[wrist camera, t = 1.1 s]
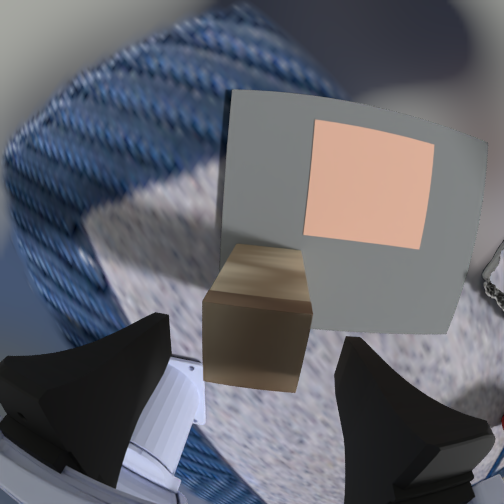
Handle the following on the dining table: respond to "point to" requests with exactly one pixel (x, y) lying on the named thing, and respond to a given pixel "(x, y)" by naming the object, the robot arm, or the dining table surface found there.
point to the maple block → (257, 320)
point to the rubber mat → (356, 206)
